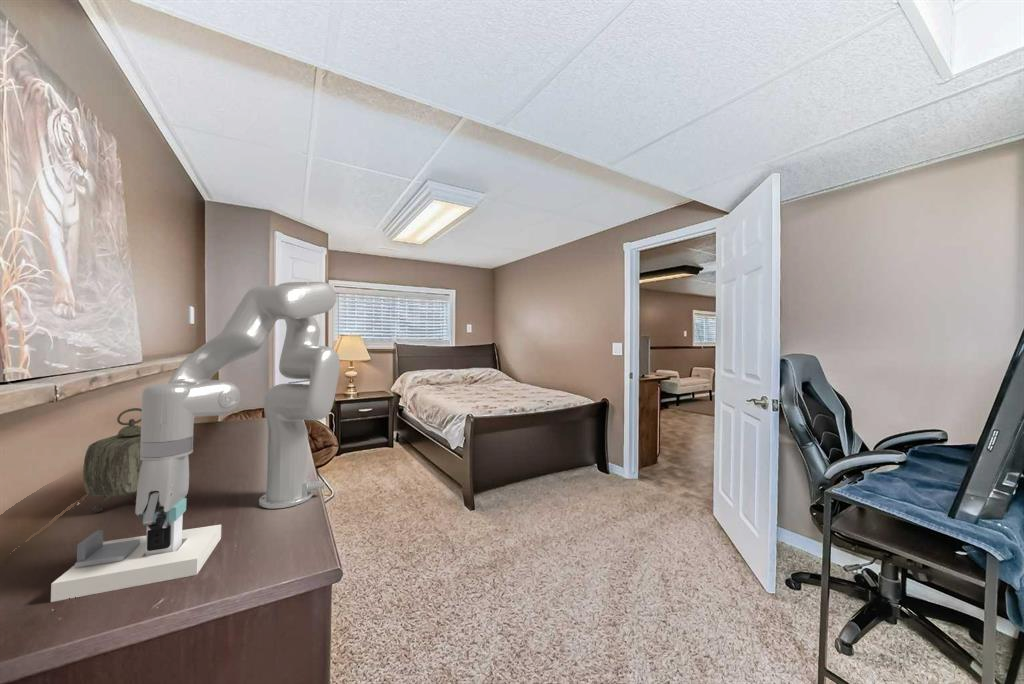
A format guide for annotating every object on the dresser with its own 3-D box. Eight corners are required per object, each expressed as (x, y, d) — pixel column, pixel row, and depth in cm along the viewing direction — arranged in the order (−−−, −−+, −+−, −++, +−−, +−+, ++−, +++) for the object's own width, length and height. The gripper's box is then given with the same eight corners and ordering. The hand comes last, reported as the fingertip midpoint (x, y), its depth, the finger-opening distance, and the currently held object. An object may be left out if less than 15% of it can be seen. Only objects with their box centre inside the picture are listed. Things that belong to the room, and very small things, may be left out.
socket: (221, 538, 81) (221, 524, 81) (196, 574, 68) (197, 558, 68) (102, 557, 73) (103, 541, 73) (50, 602, 61) (51, 583, 61)
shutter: (140, 543, 73) (140, 523, 73) (122, 560, 67) (123, 539, 67) (97, 549, 70) (97, 529, 70) (74, 568, 65) (75, 546, 65)
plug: (154, 550, 73) (155, 501, 73) (184, 545, 75) (186, 497, 75) (141, 563, 69) (143, 511, 69) (174, 557, 70) (176, 507, 71)
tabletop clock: (142, 492, 105) (144, 404, 105) (173, 493, 105) (175, 404, 105) (81, 515, 91) (84, 413, 91) (117, 516, 90) (120, 414, 91)
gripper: (162, 439, 78) (159, 526, 78) (116, 462, 63) (113, 571, 63) (206, 436, 81) (204, 520, 81) (173, 457, 66) (170, 561, 66)
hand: (164, 541), depth 72 cm, fingers closed on plug, 4 cm apart
